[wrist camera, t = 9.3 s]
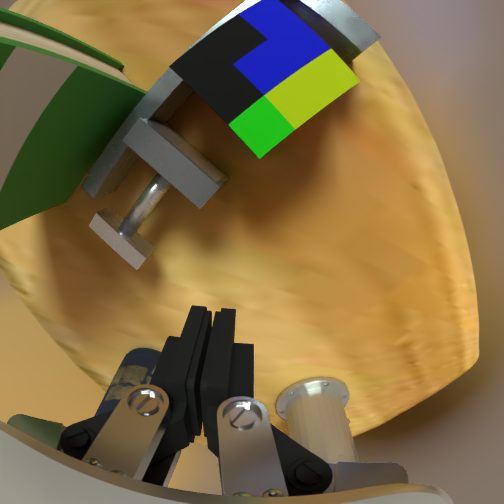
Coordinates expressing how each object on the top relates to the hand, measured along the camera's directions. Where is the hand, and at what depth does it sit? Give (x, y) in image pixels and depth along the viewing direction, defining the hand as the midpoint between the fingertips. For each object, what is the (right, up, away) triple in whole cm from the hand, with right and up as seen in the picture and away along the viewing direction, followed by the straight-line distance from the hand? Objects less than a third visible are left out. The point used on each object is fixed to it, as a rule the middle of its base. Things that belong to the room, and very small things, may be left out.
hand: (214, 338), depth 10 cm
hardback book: (-19, +18, +16) cm, 30 cm away
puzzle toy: (+2, +20, +15) cm, 25 cm away
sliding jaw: (-8, +10, +19) cm, 23 cm away
